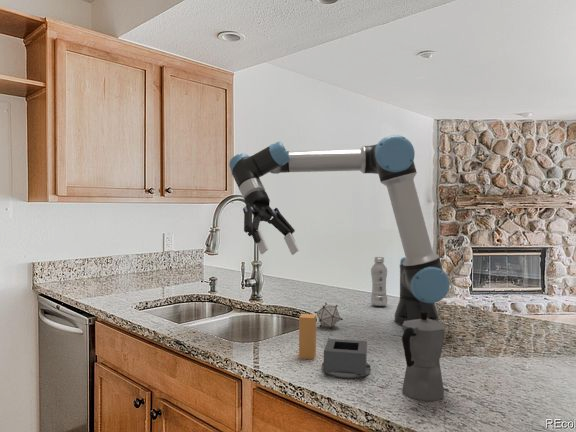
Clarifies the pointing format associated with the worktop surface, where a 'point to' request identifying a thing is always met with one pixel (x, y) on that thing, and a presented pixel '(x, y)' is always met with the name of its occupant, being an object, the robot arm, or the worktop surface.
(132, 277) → the worktop surface
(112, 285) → the worktop surface
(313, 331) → the orange rectangular block
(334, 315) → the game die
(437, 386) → the coffeepot
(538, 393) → the worktop surface
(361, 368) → the socket collar
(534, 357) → the worktop surface
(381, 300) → the plastic bottle
